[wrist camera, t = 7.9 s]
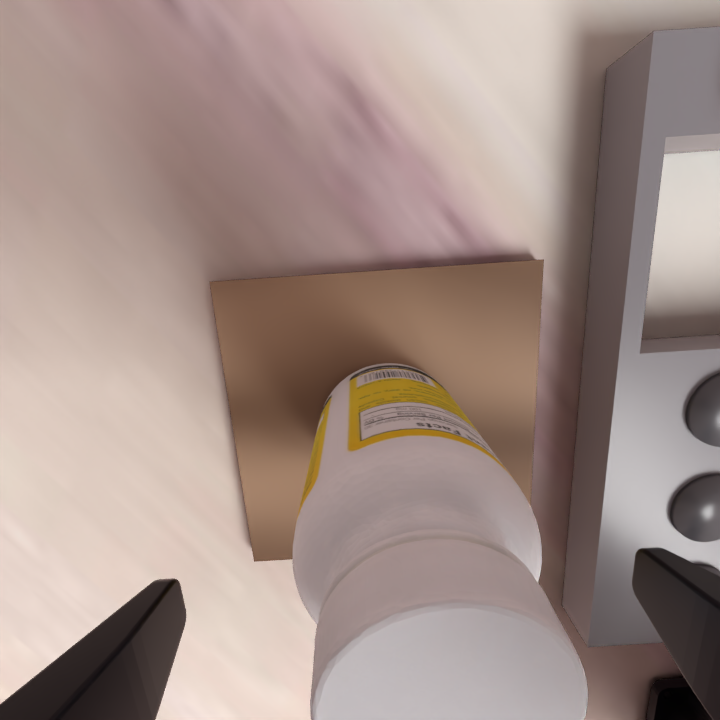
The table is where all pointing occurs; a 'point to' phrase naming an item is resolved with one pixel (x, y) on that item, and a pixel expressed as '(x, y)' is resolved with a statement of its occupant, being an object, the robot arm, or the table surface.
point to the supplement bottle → (423, 566)
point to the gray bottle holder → (642, 353)
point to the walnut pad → (370, 347)
